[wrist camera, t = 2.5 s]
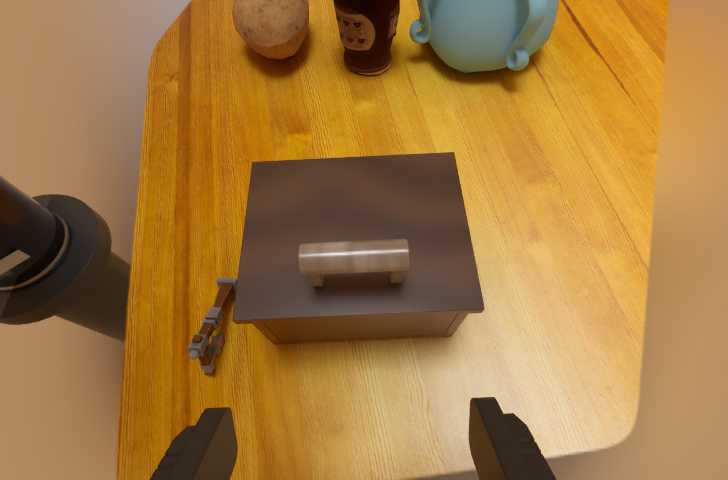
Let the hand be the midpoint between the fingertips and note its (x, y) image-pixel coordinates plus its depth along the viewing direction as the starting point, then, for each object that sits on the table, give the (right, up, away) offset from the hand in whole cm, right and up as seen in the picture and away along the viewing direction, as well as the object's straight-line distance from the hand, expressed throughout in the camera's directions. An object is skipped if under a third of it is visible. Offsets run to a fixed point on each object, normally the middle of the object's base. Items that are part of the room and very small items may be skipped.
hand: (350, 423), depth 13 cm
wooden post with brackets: (-12, -2, +22) cm, 25 cm away
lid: (0, +7, +14) cm, 16 cm away
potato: (-11, +33, +40) cm, 53 cm away
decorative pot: (+16, +32, +39) cm, 53 cm away
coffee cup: (+1, +30, +38) cm, 48 cm away
